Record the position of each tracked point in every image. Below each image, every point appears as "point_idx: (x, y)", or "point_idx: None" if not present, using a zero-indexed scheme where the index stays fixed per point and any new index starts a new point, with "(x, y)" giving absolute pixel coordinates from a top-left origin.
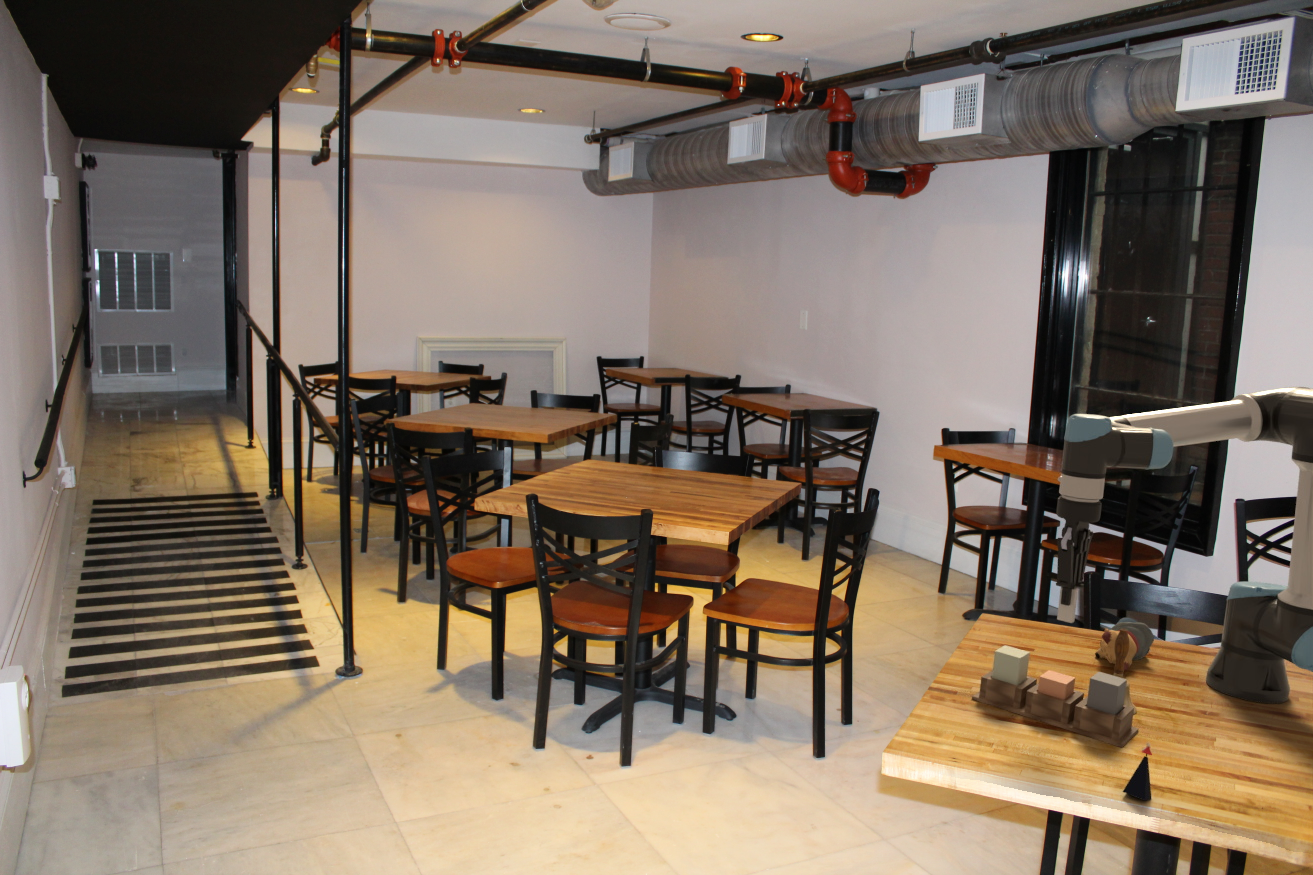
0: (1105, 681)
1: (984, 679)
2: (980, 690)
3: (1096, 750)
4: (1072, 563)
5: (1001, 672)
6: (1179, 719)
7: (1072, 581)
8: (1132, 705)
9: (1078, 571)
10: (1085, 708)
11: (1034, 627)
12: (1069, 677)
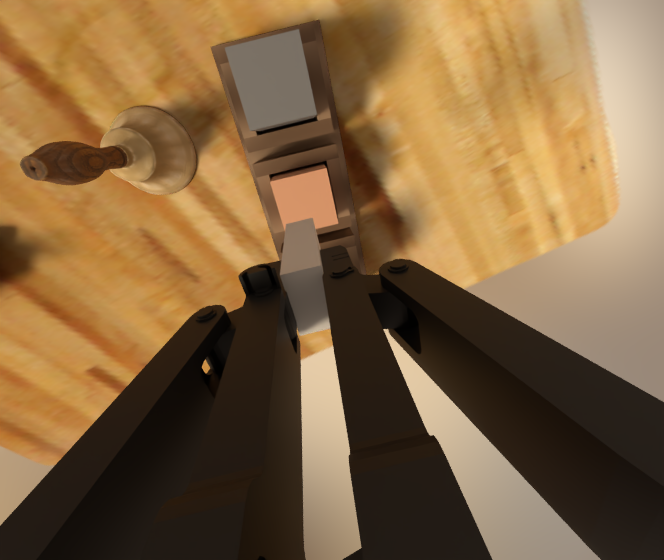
0: (300, 75)
1: None
2: None
3: (375, 47)
4: (506, 347)
5: None
6: (52, 27)
7: (391, 277)
8: (129, 116)
9: (278, 335)
10: (327, 110)
11: (4, 425)
12: (281, 189)
